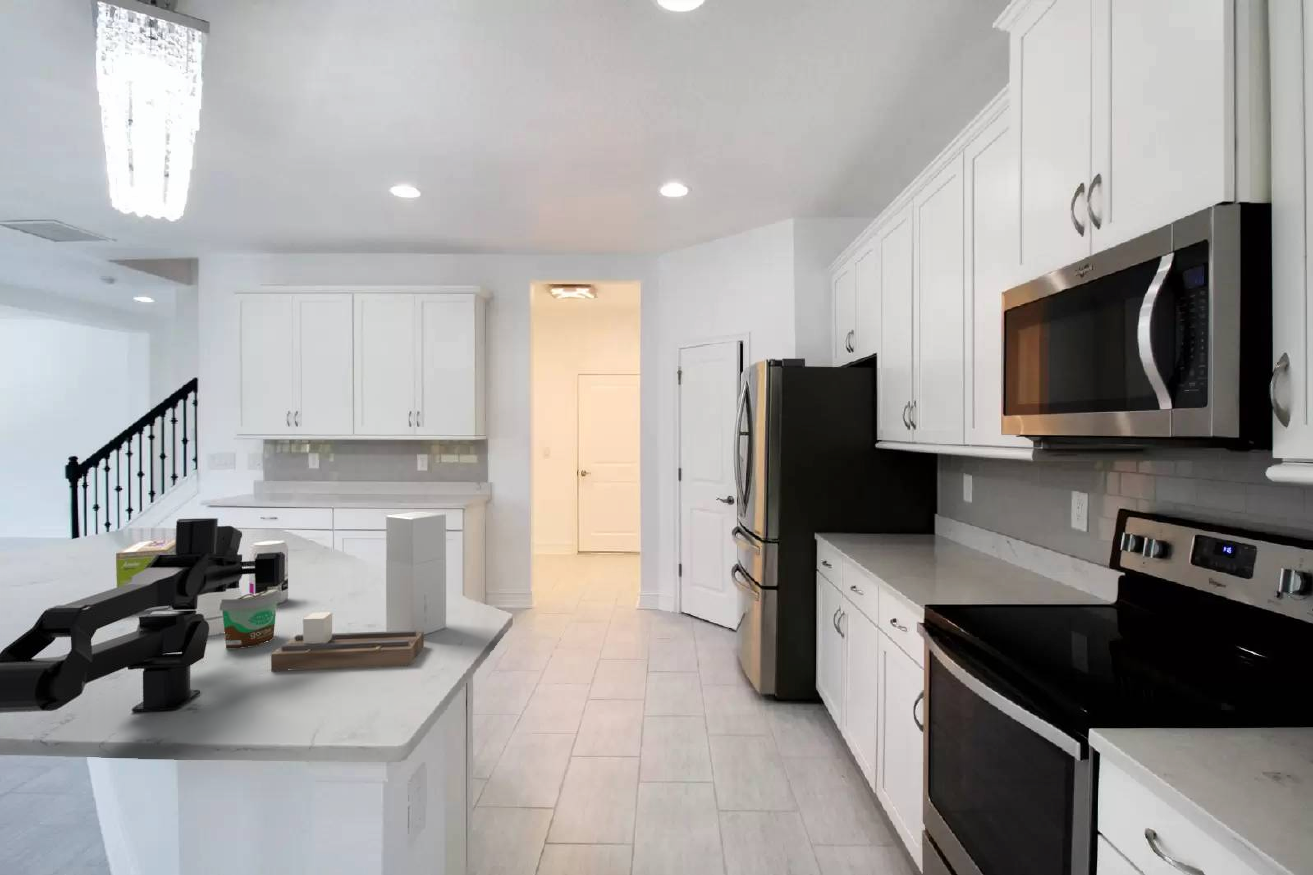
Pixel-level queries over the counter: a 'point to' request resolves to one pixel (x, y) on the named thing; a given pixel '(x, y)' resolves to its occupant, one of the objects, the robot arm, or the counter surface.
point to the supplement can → (266, 548)
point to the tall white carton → (416, 572)
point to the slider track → (350, 651)
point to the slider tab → (317, 628)
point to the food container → (250, 618)
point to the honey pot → (214, 608)
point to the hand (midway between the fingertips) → (253, 566)
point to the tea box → (140, 560)
